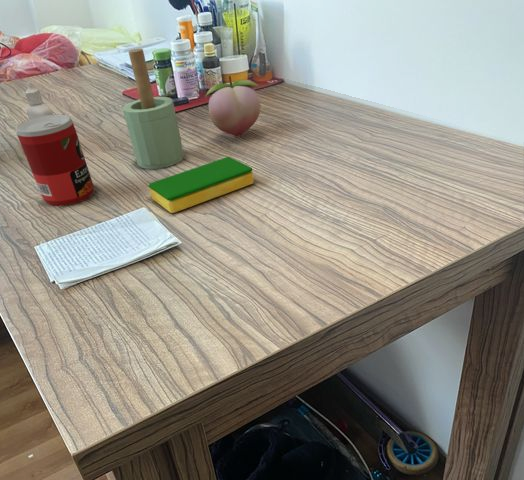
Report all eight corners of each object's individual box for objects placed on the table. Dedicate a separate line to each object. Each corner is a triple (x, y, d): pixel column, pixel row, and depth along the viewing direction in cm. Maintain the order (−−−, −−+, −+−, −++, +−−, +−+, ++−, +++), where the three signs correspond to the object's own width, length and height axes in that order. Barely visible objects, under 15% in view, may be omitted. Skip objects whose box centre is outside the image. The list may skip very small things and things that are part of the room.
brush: (157, 161, 86) (132, 53, 75) (147, 157, 88) (121, 51, 77) (173, 154, 87) (150, 48, 77) (162, 151, 89) (138, 47, 79)
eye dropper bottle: (63, 144, 100) (40, 77, 92) (67, 152, 96) (42, 83, 88) (41, 149, 99) (15, 82, 91) (43, 158, 95) (16, 88, 87)
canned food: (91, 203, 77) (65, 127, 70) (38, 210, 77) (7, 134, 70) (99, 182, 83) (76, 111, 76) (50, 189, 83) (22, 118, 76)
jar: (154, 172, 84) (140, 114, 78) (128, 162, 88) (113, 107, 83) (192, 156, 87) (182, 100, 82) (166, 148, 92) (154, 94, 86)
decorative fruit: (254, 124, 97) (248, 66, 91) (268, 137, 91) (262, 75, 84) (207, 134, 95) (197, 75, 89) (217, 148, 89) (207, 85, 83)
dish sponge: (151, 199, 76) (147, 183, 74) (230, 171, 81) (228, 155, 79) (172, 214, 71) (168, 197, 69) (255, 183, 76) (253, 167, 74)
